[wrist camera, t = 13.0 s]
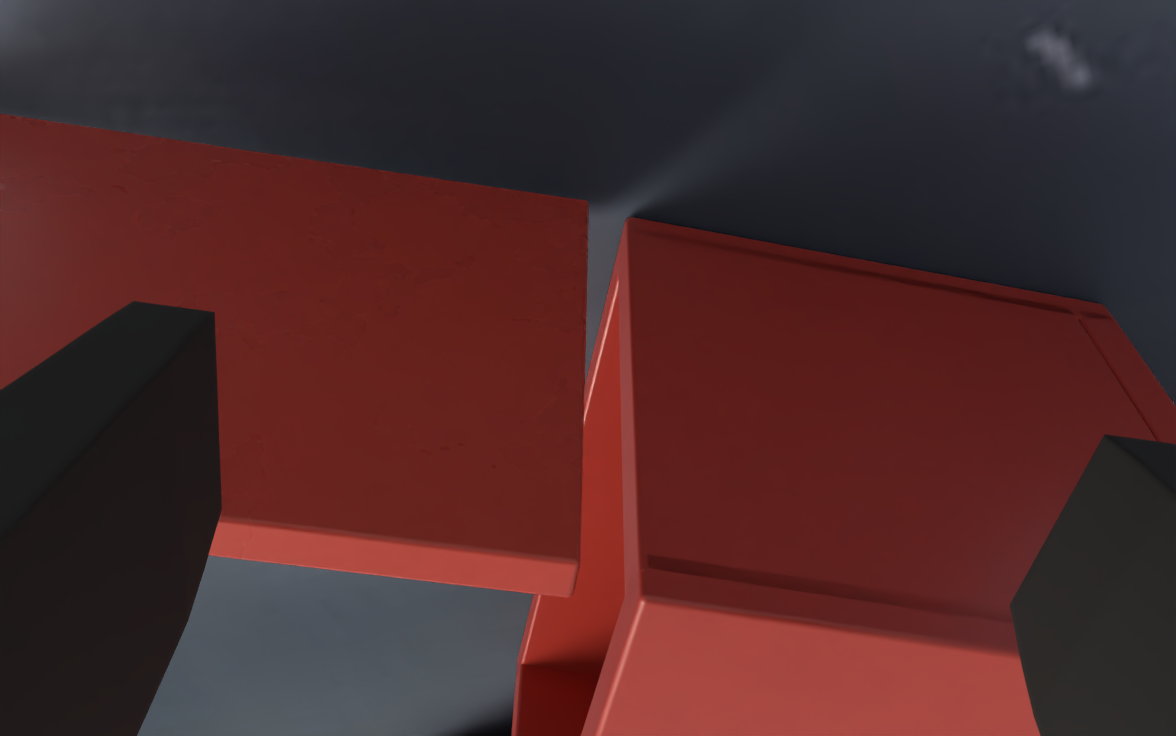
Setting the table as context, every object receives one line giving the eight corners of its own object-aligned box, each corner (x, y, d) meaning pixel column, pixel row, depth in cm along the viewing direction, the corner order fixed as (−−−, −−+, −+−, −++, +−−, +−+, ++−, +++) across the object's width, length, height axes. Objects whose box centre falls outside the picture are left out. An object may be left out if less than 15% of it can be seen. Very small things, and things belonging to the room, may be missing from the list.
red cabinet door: (643, -110, 16) (675, 129, 9) (583, 229, 19) (572, 601, 12) (-209, -256, 15) (-921, -118, 8) (-122, 126, 18) (-576, 464, 11)
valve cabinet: (626, 213, 19) (640, 598, 12) (1105, 302, 20) (1390, 709, 13) (517, 659, 26) (483, 1077, 19) (879, 710, 27) (981, 1128, 20)
